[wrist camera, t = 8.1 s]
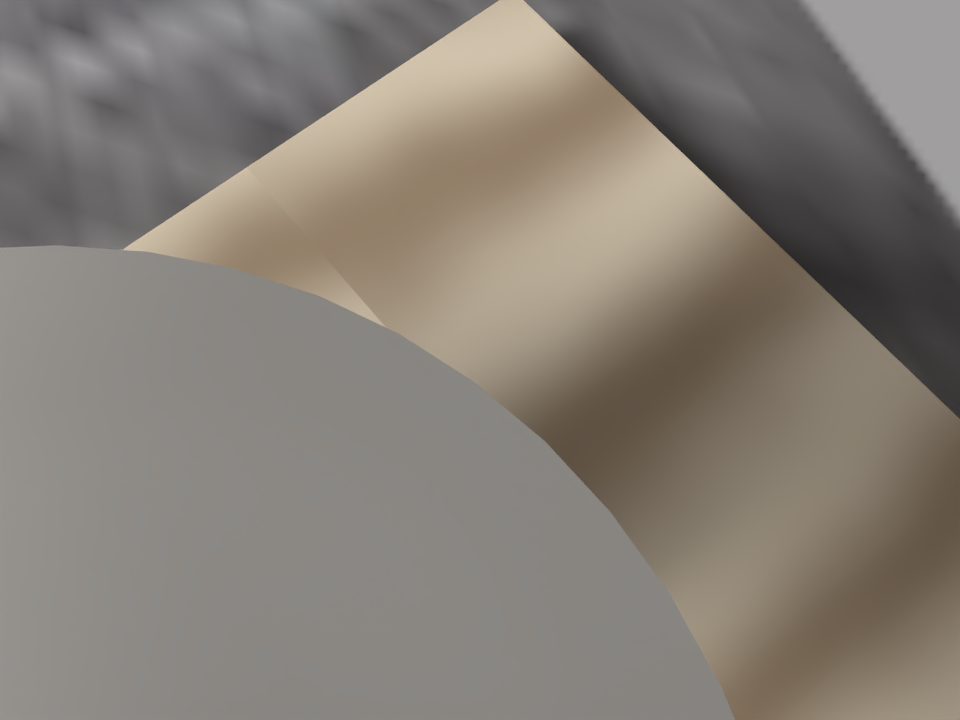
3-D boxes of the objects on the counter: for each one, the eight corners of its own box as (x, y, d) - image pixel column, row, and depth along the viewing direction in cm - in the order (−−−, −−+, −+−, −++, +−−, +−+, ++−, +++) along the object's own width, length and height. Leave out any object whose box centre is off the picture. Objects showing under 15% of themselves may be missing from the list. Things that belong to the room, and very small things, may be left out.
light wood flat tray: (1060, 615, 19) (1168, 618, 16) (443, 1368, 14) (445, 1561, 11) (504, 64, 24) (513, -9, 21) (-121, 495, 19) (-223, 477, 16)
